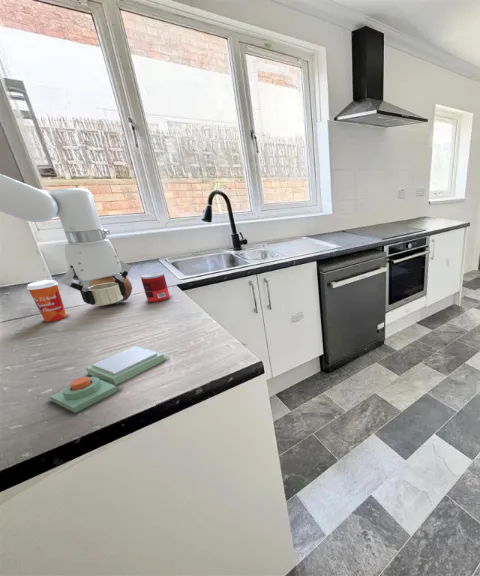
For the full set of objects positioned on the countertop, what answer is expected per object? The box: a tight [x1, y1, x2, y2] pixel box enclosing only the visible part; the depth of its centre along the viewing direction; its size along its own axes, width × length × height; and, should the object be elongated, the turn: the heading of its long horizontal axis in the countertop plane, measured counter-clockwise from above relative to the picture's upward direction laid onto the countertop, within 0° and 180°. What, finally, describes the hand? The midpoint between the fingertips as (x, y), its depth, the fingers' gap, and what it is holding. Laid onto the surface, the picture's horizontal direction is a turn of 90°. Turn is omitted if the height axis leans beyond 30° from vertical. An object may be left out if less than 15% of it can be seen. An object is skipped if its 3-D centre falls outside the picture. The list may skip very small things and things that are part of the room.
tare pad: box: [49, 376, 118, 414], centre depth 71 cm, size 10×8×3 cm
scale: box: [85, 345, 166, 386], centre depth 82 cm, size 12×12×3 cm
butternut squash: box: [89, 246, 133, 306], centre depth 123 cm, size 14×13×25 cm
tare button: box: [69, 376, 91, 391], centre depth 70 cm, size 3×3×2 cm
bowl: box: [88, 283, 123, 307], centre depth 87 cm, size 7×7×4 cm
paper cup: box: [26, 279, 67, 323], centre depth 111 cm, size 8×8×14 cm
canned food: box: [140, 271, 170, 303], centre depth 129 cm, size 8×8×11 cm
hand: (106, 298), depth 88 cm, fingers closed on bowl, 6 cm apart
